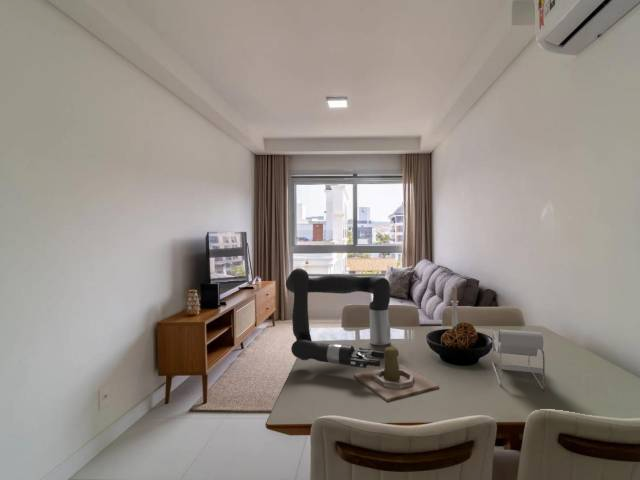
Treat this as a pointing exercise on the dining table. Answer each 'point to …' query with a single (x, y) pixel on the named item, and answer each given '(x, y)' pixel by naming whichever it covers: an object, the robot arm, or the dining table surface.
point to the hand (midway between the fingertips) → (382, 359)
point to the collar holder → (395, 383)
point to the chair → (519, 350)
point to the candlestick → (454, 307)
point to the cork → (391, 364)
